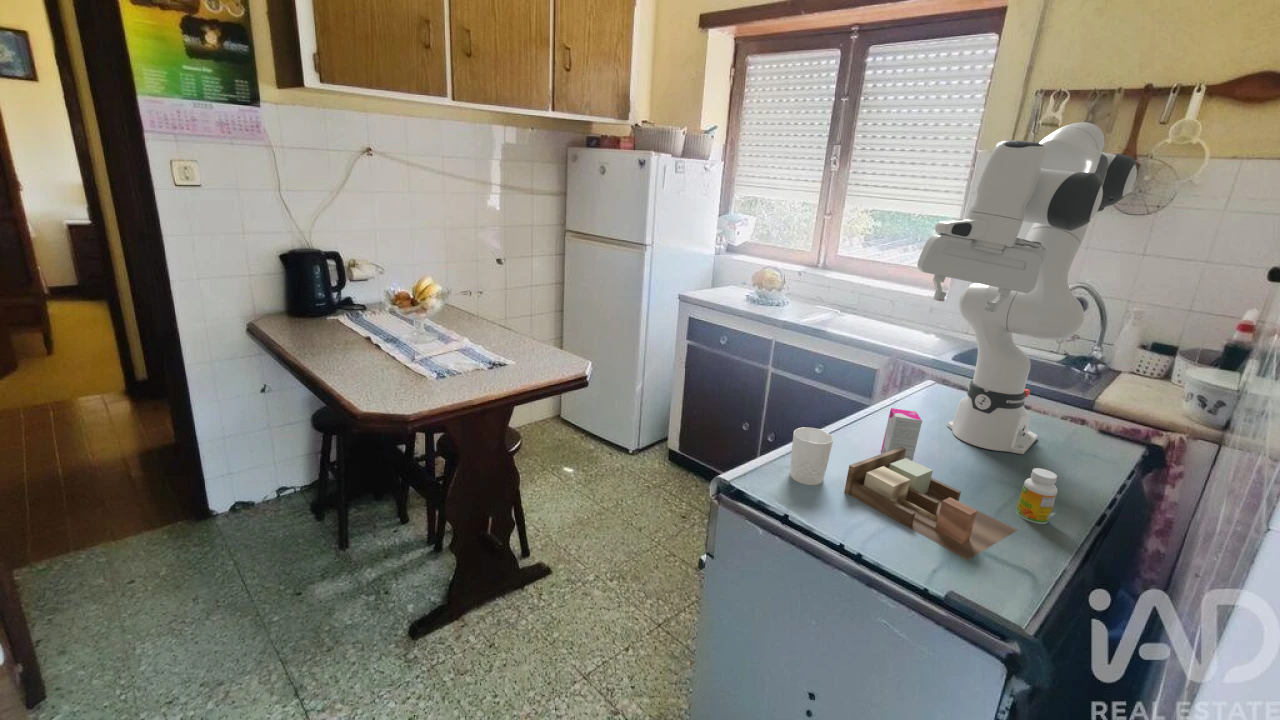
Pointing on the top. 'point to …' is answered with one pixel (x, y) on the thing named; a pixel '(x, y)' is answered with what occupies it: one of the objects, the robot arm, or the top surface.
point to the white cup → (810, 455)
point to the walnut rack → (983, 529)
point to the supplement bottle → (1038, 496)
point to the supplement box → (902, 432)
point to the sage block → (913, 474)
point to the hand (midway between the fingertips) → (963, 305)
